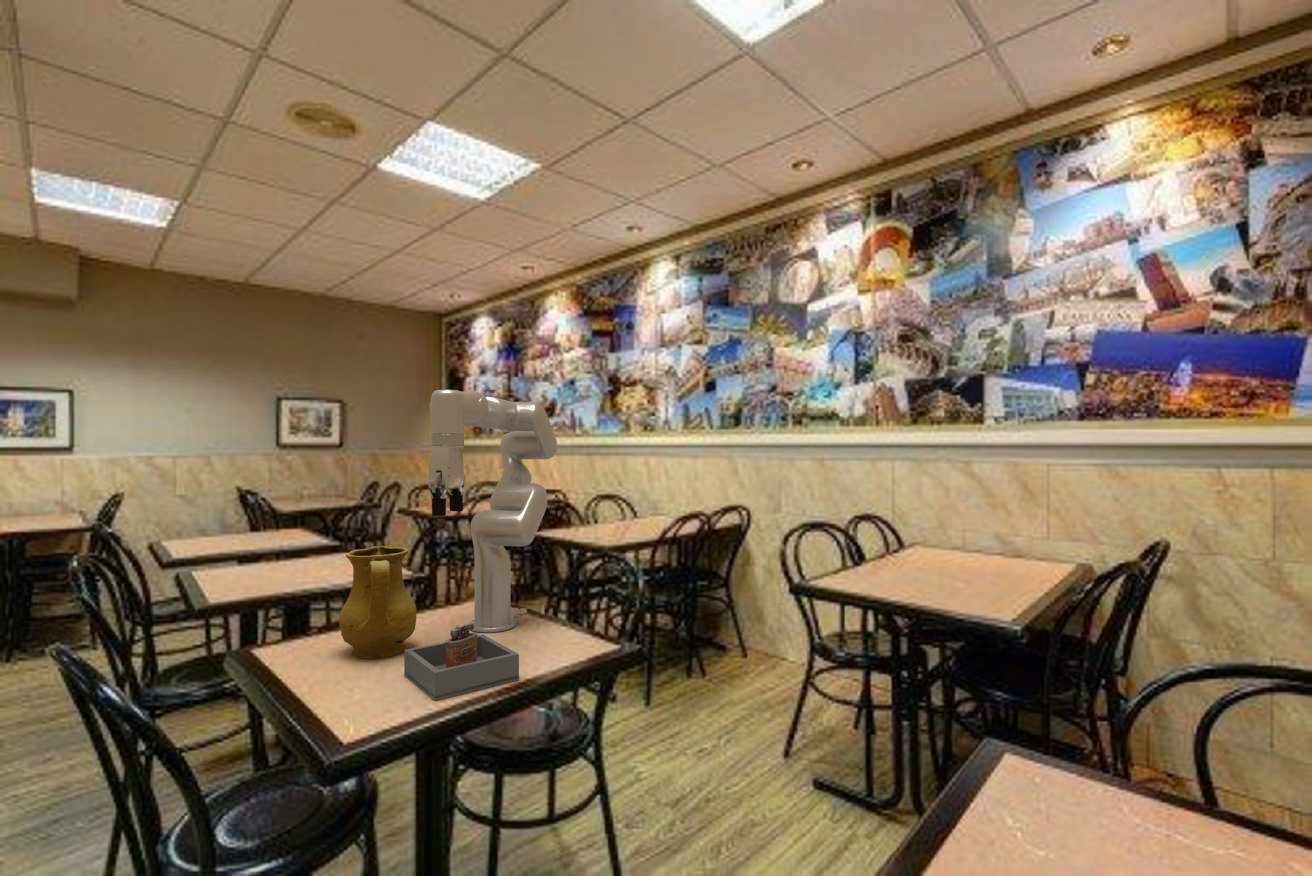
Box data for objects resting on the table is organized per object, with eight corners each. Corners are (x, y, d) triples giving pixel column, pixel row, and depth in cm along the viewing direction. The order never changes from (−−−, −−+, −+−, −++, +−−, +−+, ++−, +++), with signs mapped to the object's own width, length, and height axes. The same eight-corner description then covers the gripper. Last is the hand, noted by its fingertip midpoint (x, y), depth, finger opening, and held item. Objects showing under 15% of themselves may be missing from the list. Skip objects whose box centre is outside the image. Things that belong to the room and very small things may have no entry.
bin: (483, 658, 153) (483, 634, 154) (518, 680, 139) (519, 654, 139) (404, 675, 142) (404, 649, 142) (434, 701, 128) (434, 672, 128)
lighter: (452, 679, 137) (452, 631, 137) (441, 676, 139) (441, 629, 139) (481, 668, 144) (481, 622, 144) (470, 665, 146) (470, 620, 146)
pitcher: (430, 639, 167) (425, 541, 166) (394, 668, 148) (388, 558, 147) (366, 639, 169) (360, 542, 167) (322, 667, 150) (316, 559, 149)
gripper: (447, 441, 166) (447, 509, 166) (415, 442, 149) (415, 517, 149) (476, 441, 166) (476, 509, 166) (447, 442, 148) (447, 518, 148)
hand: (447, 513), depth 157 cm, fingers open, 9 cm apart
